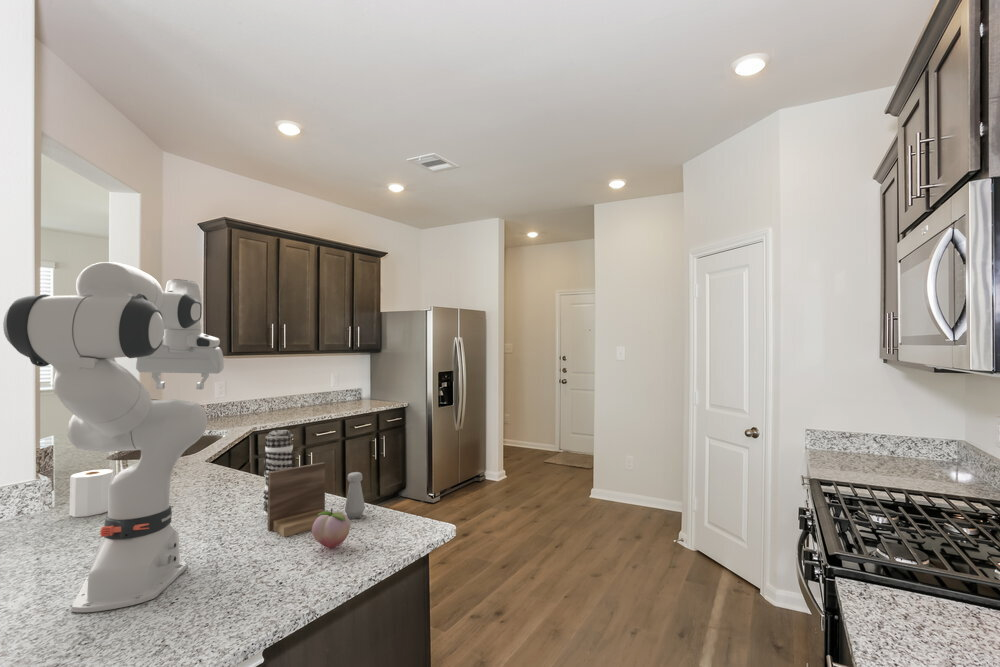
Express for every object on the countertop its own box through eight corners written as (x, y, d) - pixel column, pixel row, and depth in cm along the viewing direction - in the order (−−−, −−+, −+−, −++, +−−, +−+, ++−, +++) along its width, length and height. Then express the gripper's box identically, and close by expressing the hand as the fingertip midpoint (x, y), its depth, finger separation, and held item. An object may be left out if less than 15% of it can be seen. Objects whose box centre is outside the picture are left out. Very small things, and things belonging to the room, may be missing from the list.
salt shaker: (367, 513, 147) (367, 470, 147) (360, 519, 141) (360, 475, 142) (349, 512, 148) (349, 470, 148) (341, 519, 142) (341, 475, 142)
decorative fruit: (357, 543, 124) (357, 504, 124) (338, 556, 116) (338, 515, 116) (326, 539, 127) (326, 501, 127) (305, 552, 119) (306, 511, 119)
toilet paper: (69, 511, 150) (70, 472, 151) (111, 504, 157) (112, 467, 158) (69, 519, 143) (70, 479, 143) (113, 511, 150) (114, 473, 150)
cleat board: (336, 522, 139) (336, 467, 140) (280, 538, 128) (280, 477, 128) (322, 515, 145) (322, 462, 146) (267, 529, 134) (268, 472, 134)
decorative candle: (255, 515, 145) (256, 433, 146) (276, 506, 154) (276, 428, 155) (280, 518, 143) (281, 434, 144) (300, 508, 152) (301, 429, 153)
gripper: (132, 338, 125) (131, 390, 126) (220, 341, 131) (218, 391, 132) (141, 336, 131) (140, 386, 132) (226, 339, 137) (224, 387, 138)
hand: (180, 388), depth 132 cm, fingers open, 8 cm apart
